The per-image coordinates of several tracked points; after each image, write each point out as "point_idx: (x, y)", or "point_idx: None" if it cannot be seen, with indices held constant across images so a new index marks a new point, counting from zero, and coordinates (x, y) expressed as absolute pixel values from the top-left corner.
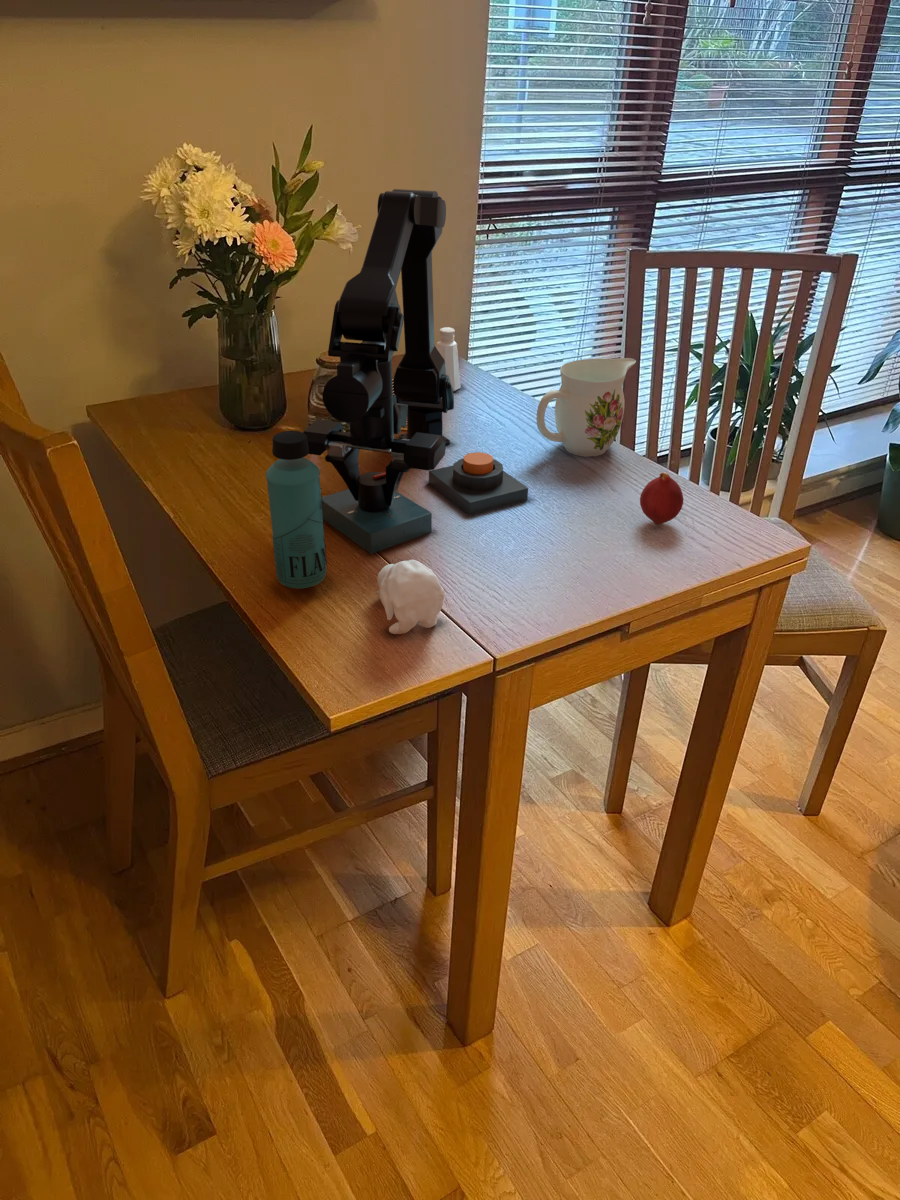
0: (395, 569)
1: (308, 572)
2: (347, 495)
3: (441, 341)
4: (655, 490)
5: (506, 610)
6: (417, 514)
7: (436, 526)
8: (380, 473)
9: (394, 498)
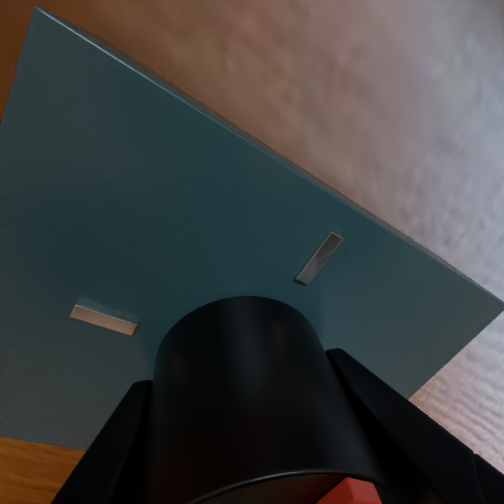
0: None
1: None
2: (33, 340)
3: None
4: None
5: None
6: (448, 340)
7: (454, 211)
8: (293, 491)
9: (357, 362)
